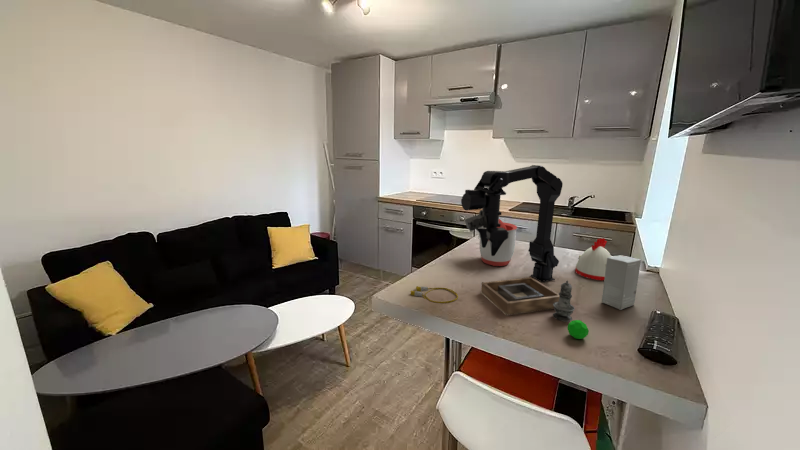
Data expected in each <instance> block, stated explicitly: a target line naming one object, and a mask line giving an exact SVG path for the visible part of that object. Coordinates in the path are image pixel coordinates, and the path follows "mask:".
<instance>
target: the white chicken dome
mask: <svg viewBox="0 0 800 450" xmlns="http://www.w3.org/2000/svg"><path fill="white" fill-rule="evenodd" d="M607 243H608V241H607V240H606V238H603V237H602V238H601V237H600V238H597V239H596V241H593V244H592V245H591V247H588V248H587V249H586V250H585V251H583V253H581V254H579V255H578V259H577V262H576V265H575V269H574V271H575V274H577V275H579V276H581V277H583V276H584V278H586V277H587V278H586V279H590V278H591V280H594V279H595V280H596V281H603V280H604V279H605V271H606V263H607V258H608V257H612V255H611V253H610V252H609V251H608V250H607V249H606V248H605V247H606V245H607Z"/></svg>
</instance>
